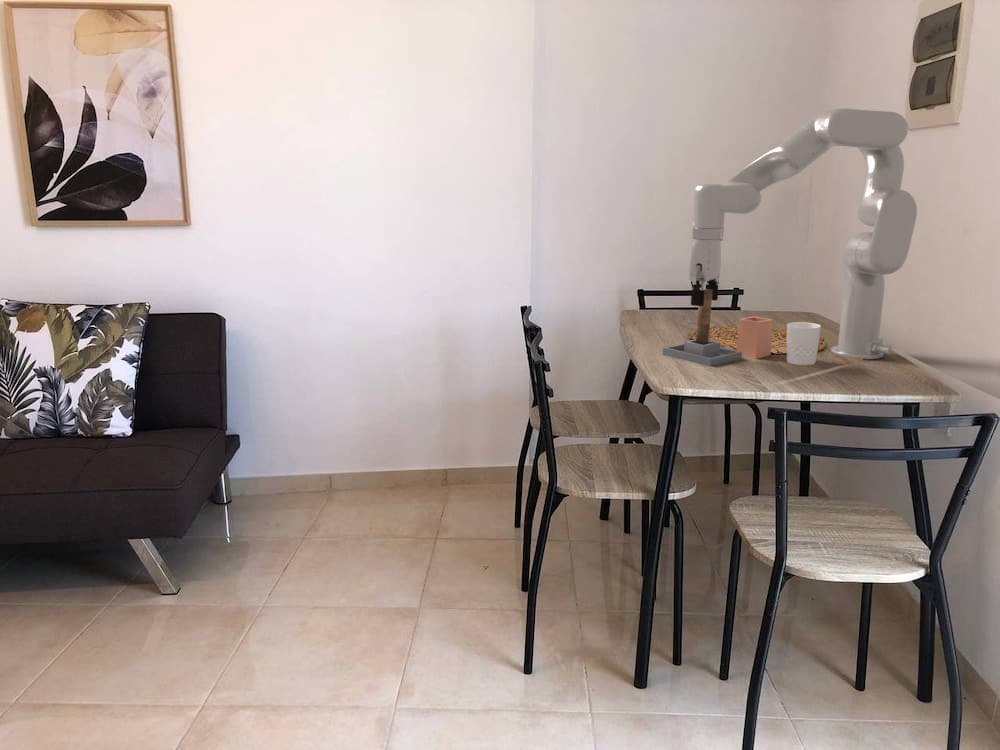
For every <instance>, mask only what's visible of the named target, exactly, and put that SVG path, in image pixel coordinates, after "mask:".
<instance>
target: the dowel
mask: <svg viewBox="0 0 1000 750" xmlns="http://www.w3.org/2000/svg"><path fill="white" fill-rule="evenodd" d="M703 290H705V293H704V305H703V306H697V307H698V308H697V319H696V331H695V332H696V333H695V339H696V343H697V344H701V345H705V344H708V341H709V340H710V328H711V327H710V326H711V315H712V314H711V313H712V303H713V300H712V292H713V290H710V289H706V288H703Z"/></svg>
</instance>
